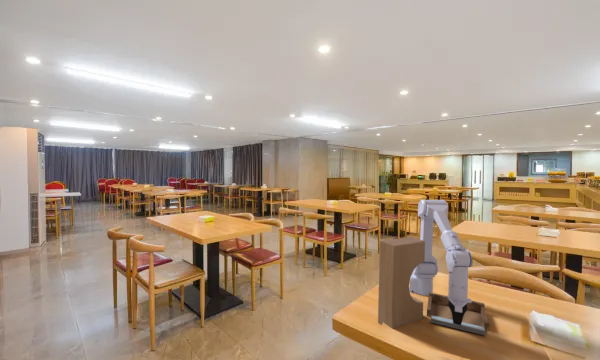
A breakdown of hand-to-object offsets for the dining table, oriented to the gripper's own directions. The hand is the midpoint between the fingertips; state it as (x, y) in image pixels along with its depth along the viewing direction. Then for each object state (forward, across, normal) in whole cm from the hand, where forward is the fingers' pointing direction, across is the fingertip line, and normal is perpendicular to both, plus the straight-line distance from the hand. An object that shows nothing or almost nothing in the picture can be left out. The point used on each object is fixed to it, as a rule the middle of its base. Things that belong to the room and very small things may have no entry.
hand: (457, 324), depth 95 cm
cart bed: (+2, +10, 0) cm, 10 cm away
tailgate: (+1, +4, 0) cm, 4 cm away
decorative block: (+3, -3, +18) cm, 19 cm away
